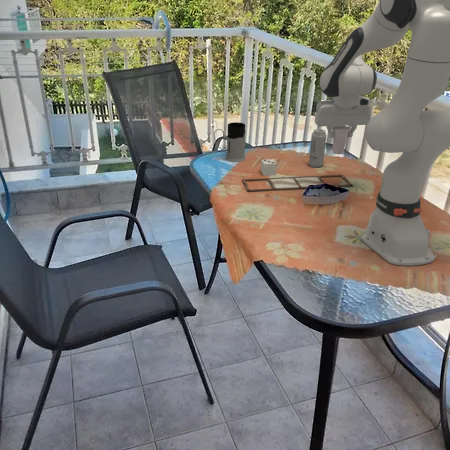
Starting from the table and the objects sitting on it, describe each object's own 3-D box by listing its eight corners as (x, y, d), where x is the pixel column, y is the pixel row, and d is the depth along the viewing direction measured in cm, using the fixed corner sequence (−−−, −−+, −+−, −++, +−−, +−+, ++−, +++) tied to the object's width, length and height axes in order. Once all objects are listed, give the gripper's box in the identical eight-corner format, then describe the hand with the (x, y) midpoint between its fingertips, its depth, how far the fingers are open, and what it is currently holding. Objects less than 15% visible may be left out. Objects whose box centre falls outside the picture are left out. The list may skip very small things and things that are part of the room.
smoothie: (348, 155, 173) (353, 118, 167) (330, 155, 173) (335, 117, 167) (345, 150, 179) (349, 113, 172) (328, 149, 179) (332, 113, 172)
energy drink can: (305, 164, 199) (309, 129, 192) (317, 162, 201) (321, 127, 194) (313, 168, 194) (317, 133, 187) (325, 166, 196) (330, 131, 189)
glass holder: (248, 161, 201) (249, 127, 194) (216, 163, 198) (216, 129, 191) (242, 154, 208) (243, 121, 201) (211, 157, 205) (211, 123, 198)
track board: (353, 186, 178) (353, 185, 178) (247, 192, 172) (247, 190, 172) (342, 175, 187) (342, 174, 187) (242, 180, 182) (242, 179, 182)
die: (275, 175, 187) (276, 163, 185) (263, 175, 187) (264, 163, 184) (272, 170, 192) (273, 159, 189) (260, 171, 191) (261, 159, 189)
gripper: (319, 102, 163) (316, 140, 169) (375, 100, 165) (369, 138, 172) (314, 98, 168) (310, 135, 174) (367, 96, 171) (362, 133, 177)
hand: (340, 137), depth 173 cm, fingers closed on smoothie, 6 cm apart
